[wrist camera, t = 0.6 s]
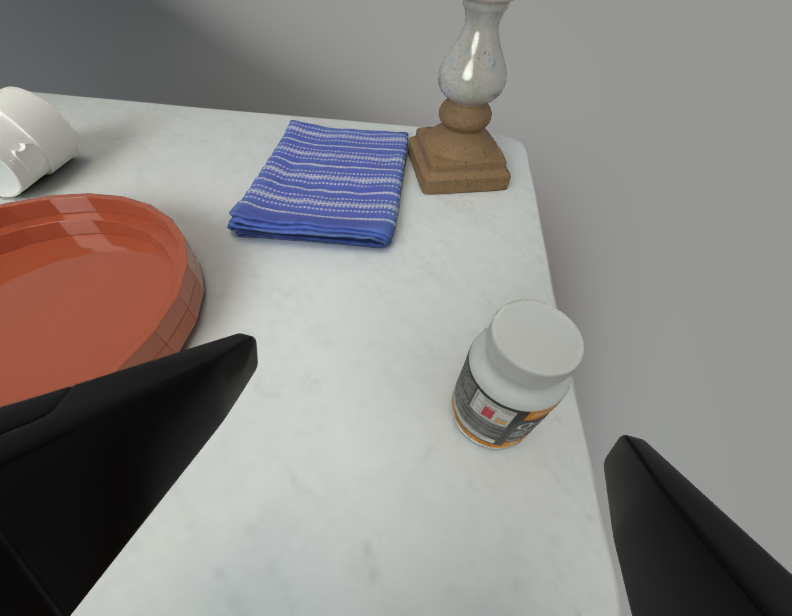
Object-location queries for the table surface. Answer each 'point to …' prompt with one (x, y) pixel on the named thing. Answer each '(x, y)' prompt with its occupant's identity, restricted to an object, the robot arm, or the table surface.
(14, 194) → the mug
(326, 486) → the table surface
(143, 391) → the robot arm
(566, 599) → the table surface
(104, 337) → the bowl
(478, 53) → the candle holder
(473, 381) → the pill bottle
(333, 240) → the dish towel
